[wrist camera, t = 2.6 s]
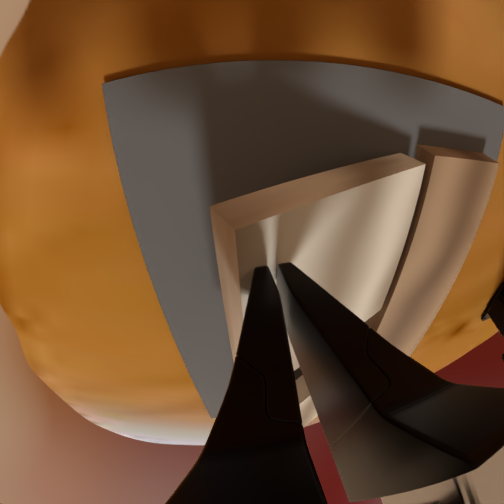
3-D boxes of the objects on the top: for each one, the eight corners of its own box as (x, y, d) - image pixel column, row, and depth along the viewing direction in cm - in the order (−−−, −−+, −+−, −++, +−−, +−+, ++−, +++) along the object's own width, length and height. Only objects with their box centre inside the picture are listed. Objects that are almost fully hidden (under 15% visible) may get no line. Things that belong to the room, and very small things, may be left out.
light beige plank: (400, 152, 12) (425, 164, 11) (365, 296, 18) (380, 309, 17) (209, 206, 8) (234, 230, 7) (236, 375, 14) (251, 396, 13)
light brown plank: (483, 153, 12) (499, 163, 11) (385, 372, 28) (390, 382, 27) (416, 144, 12) (435, 155, 11) (338, 385, 27) (341, 397, 26)
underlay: (503, 106, 11) (507, 107, 10) (389, 378, 31) (390, 380, 30) (105, 82, 9) (102, 83, 9) (210, 414, 29) (211, 417, 28)
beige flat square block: (352, 331, 21) (367, 342, 20) (330, 386, 27) (340, 394, 26) (250, 413, 16) (265, 430, 15) (255, 446, 22) (265, 456, 21)
